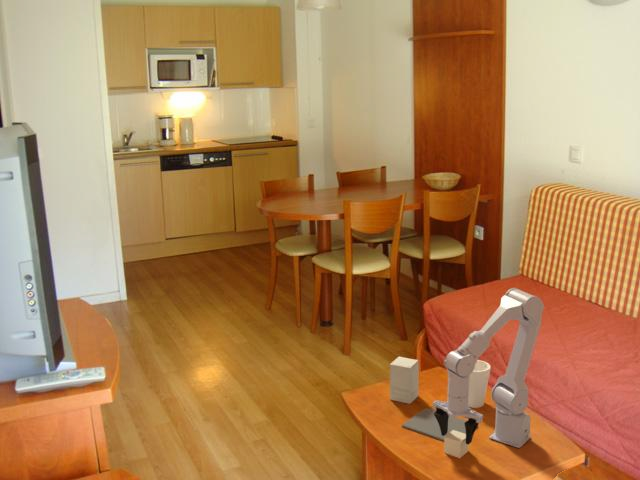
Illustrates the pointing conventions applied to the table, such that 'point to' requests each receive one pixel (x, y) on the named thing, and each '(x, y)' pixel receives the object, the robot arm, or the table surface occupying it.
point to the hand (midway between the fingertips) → (456, 438)
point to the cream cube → (455, 444)
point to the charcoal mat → (433, 424)
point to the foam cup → (478, 384)
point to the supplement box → (404, 380)
